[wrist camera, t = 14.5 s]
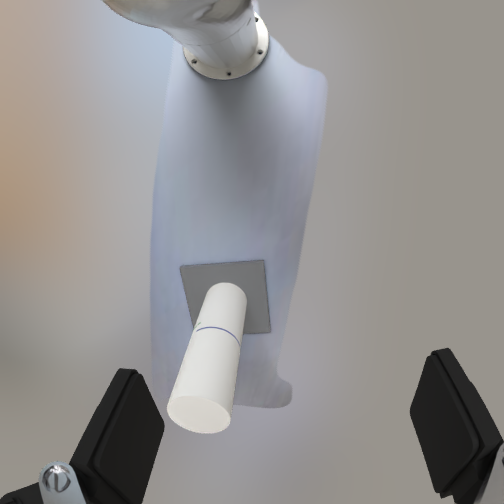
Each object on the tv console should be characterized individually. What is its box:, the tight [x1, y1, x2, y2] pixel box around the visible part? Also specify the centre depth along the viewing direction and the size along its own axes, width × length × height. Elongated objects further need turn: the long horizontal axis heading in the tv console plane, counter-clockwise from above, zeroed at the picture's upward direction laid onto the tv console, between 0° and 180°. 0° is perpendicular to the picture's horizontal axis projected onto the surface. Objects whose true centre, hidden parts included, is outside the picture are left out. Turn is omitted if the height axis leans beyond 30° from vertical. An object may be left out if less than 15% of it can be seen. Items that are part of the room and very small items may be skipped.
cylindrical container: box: [167, 283, 247, 434], centre depth 42 cm, size 7×7×25 cm
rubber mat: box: [180, 260, 270, 334], centre depth 54 cm, size 14×14×1 cm
